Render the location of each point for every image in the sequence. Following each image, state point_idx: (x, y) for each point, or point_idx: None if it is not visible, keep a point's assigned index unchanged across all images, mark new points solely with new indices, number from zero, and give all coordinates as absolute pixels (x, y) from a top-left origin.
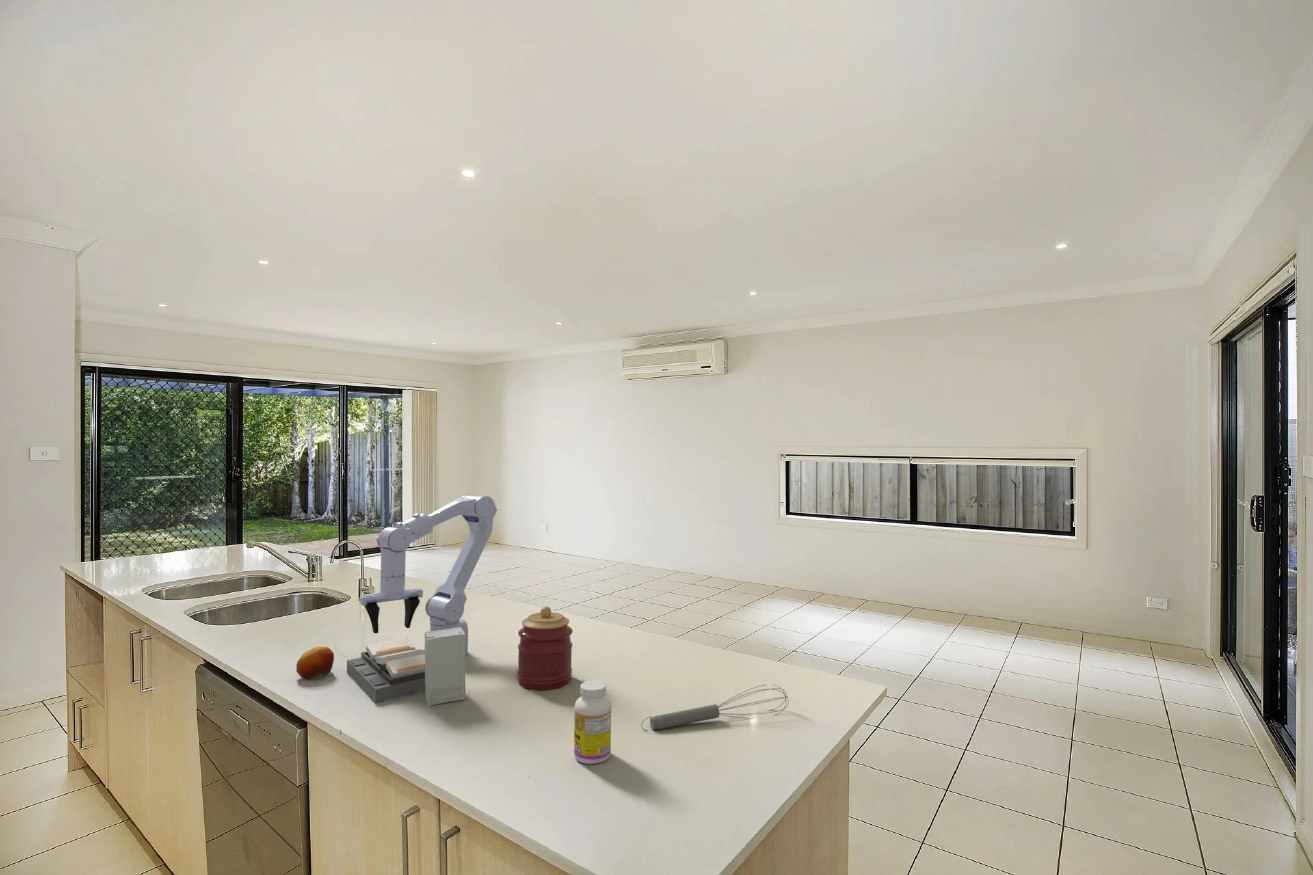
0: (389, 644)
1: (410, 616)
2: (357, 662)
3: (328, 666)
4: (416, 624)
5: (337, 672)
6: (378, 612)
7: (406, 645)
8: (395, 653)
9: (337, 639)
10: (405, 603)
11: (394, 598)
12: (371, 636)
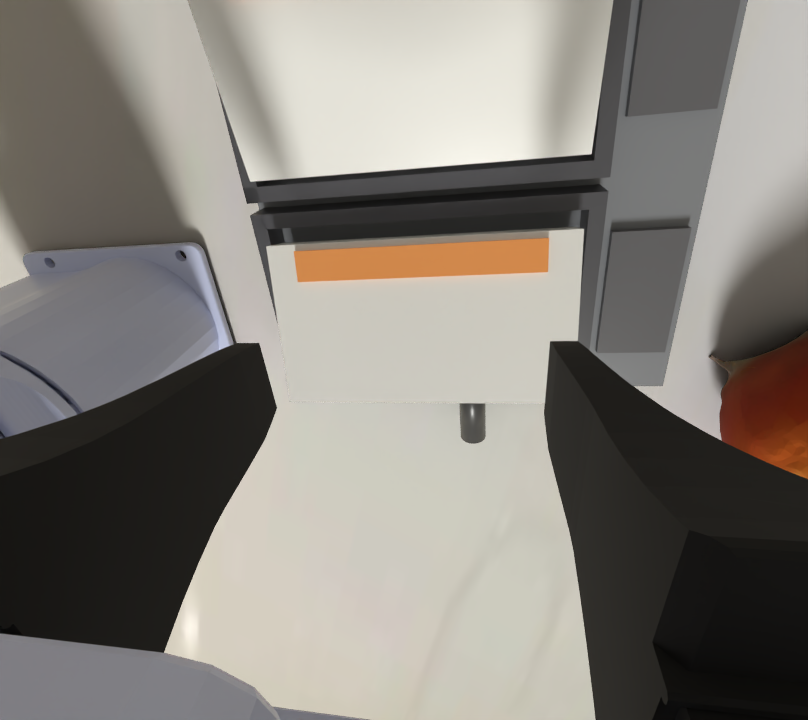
0: (423, 347)
1: (160, 390)
2: (650, 281)
3: (792, 353)
4: (250, 664)
5: (678, 370)
6: (648, 471)
7: (315, 289)
8: (423, 147)
9: (515, 682)
10: (145, 627)
11: (177, 676)
12: (406, 651)
